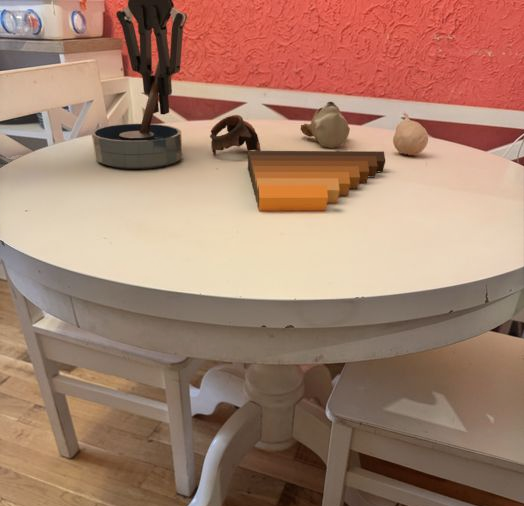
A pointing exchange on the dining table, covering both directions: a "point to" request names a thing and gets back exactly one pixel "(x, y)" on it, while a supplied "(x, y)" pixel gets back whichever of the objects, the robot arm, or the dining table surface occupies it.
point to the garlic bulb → (410, 137)
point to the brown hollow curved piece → (234, 134)
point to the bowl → (137, 147)
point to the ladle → (145, 114)
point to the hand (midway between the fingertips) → (159, 112)
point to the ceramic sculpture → (328, 126)
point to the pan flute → (308, 176)
